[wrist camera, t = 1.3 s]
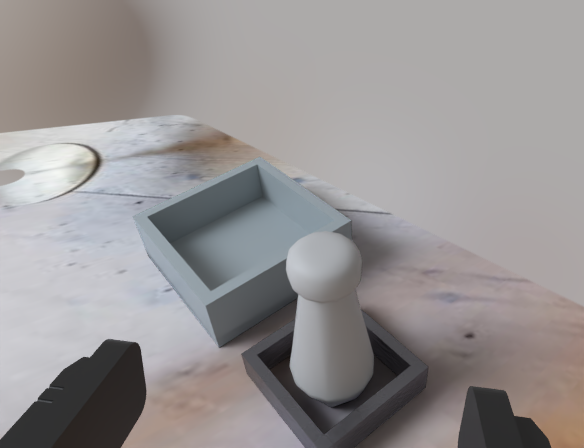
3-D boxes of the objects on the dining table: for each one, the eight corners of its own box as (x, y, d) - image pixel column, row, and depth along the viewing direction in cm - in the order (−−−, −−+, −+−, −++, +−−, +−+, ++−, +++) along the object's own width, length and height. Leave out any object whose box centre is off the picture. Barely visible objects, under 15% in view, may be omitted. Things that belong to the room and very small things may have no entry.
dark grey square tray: (340, 310, 40) (338, 290, 39) (425, 387, 34) (428, 366, 33) (247, 373, 36) (241, 353, 35) (324, 471, 31) (321, 453, 29)
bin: (266, 195, 53) (259, 156, 50) (352, 262, 44) (351, 220, 41) (148, 256, 48) (132, 216, 45) (219, 347, 39) (205, 306, 35)
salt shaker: (296, 423, 33) (271, 294, 25) (290, 352, 38) (267, 222, 29) (382, 412, 33) (385, 279, 25) (366, 342, 38) (364, 210, 29)
